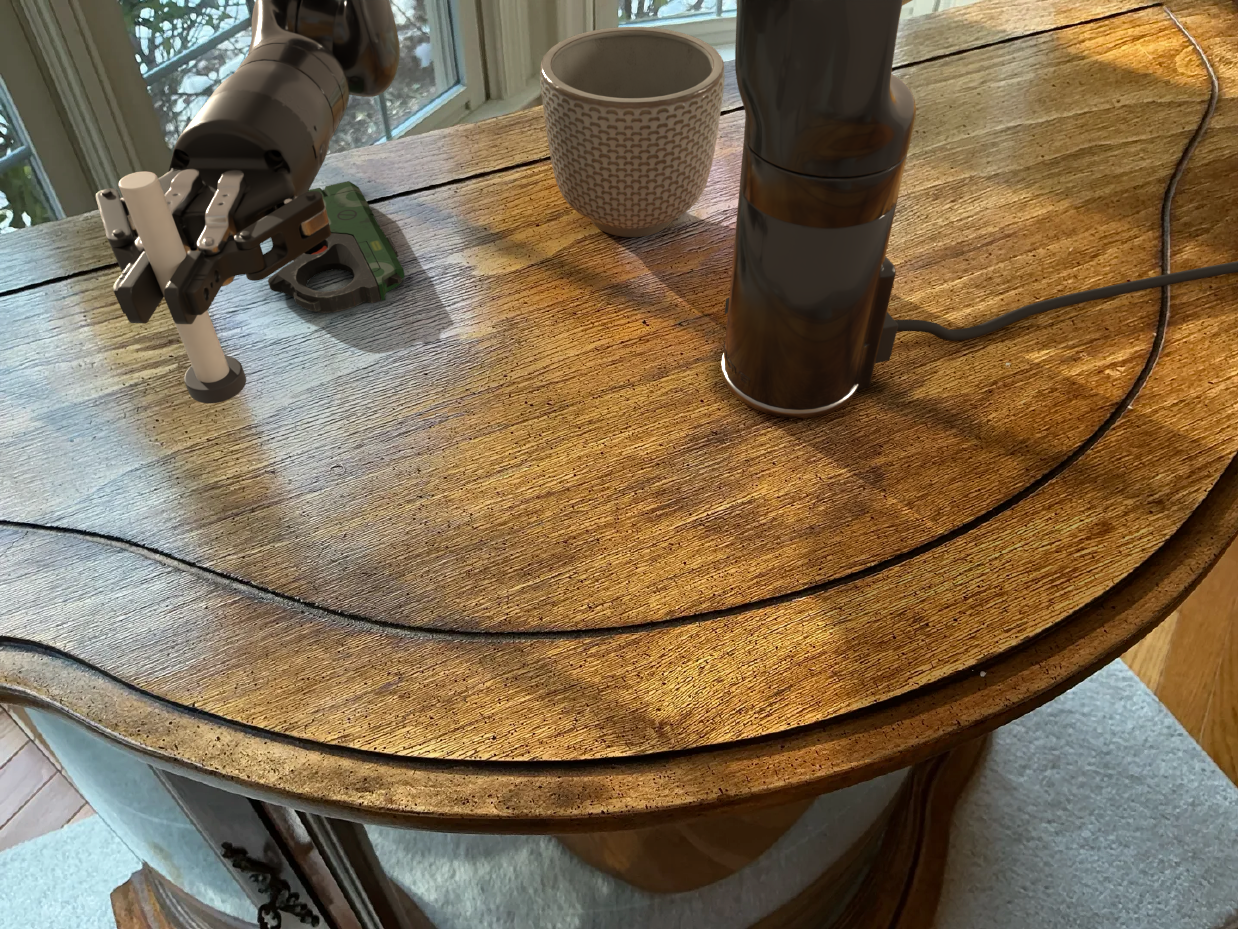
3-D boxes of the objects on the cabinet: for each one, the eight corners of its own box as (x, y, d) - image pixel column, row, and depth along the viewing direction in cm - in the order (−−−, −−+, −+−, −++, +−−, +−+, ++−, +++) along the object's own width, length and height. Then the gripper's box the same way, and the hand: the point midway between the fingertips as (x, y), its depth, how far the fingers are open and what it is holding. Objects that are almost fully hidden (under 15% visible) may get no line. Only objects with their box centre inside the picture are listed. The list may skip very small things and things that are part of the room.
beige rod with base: (245, 363, 58) (172, 159, 49) (247, 397, 56) (172, 190, 47) (189, 374, 57) (104, 169, 48) (189, 409, 55) (100, 201, 46)
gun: (239, 203, 81) (358, 177, 84) (244, 219, 82) (361, 192, 85) (278, 310, 71) (413, 275, 74) (283, 326, 72) (416, 291, 75)
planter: (577, 165, 89) (571, 17, 79) (729, 186, 86) (741, 35, 77) (525, 247, 79) (512, 90, 70) (694, 273, 76) (704, 113, 67)
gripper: (129, 85, 59) (-16, 242, 47) (355, 87, 59) (268, 247, 46) (170, 198, 64) (50, 365, 52) (378, 200, 64) (306, 371, 52)
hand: (154, 309), depth 49 cm, fingers closed on beige rod with base, 2 cm apart
